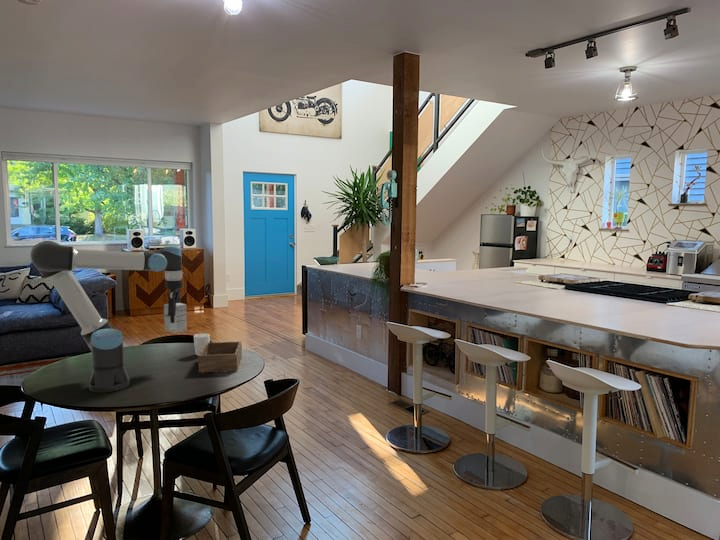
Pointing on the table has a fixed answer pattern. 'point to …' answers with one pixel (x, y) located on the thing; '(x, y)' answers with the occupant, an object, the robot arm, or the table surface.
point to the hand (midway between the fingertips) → (175, 327)
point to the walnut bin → (220, 356)
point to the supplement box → (180, 318)
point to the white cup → (200, 342)
